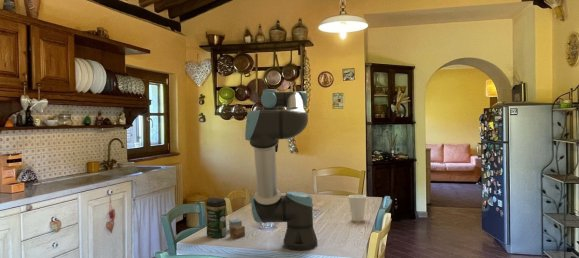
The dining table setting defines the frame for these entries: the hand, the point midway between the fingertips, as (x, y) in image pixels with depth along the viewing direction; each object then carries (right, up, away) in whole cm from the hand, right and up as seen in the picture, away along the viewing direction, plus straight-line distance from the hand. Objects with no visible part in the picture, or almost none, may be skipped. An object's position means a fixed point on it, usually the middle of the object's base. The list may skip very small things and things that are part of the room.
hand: (271, 165), depth 204 cm
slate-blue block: (-19, -33, 0) cm, 38 cm away
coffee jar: (-26, -34, -10) cm, 44 cm away
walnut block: (-16, -33, -12) cm, 39 cm away
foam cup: (+47, -31, +15) cm, 58 cm away
